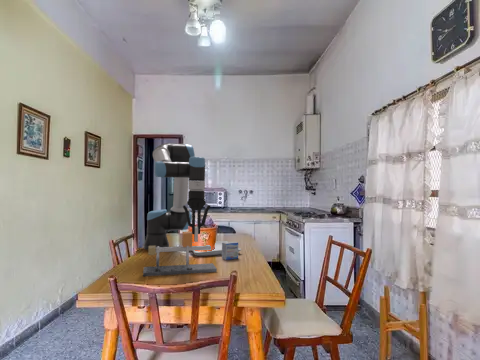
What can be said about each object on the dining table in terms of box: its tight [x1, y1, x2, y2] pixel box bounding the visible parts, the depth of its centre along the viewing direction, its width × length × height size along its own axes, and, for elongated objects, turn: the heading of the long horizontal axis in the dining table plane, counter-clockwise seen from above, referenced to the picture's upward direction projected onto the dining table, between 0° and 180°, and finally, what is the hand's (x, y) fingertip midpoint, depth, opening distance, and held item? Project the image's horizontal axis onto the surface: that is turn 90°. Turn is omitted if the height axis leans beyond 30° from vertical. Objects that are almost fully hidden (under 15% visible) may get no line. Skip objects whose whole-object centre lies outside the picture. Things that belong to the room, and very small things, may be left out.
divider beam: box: [147, 245, 211, 269], centre depth 144 cm, size 6×28×10 cm, turn 105°
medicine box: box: [221, 241, 239, 261], centre depth 170 cm, size 8×4×9 cm, turn 123°
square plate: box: [192, 240, 242, 257], centre depth 188 cm, size 27×27×4 cm
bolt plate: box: [142, 262, 218, 277], centre depth 145 cm, size 10×32×2 cm, turn 105°
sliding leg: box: [181, 231, 193, 267], centre depth 145 cm, size 6×4×15 cm
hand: (195, 241), depth 147 cm, fingers closed
